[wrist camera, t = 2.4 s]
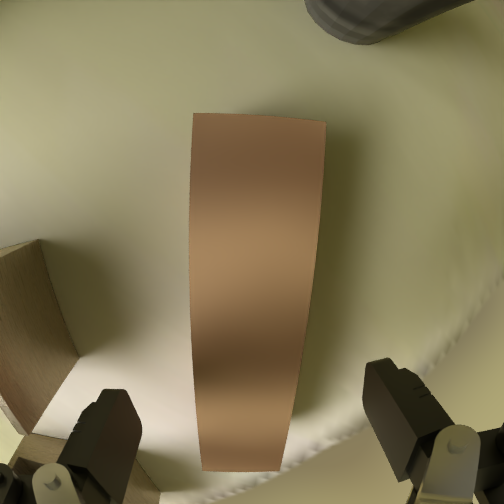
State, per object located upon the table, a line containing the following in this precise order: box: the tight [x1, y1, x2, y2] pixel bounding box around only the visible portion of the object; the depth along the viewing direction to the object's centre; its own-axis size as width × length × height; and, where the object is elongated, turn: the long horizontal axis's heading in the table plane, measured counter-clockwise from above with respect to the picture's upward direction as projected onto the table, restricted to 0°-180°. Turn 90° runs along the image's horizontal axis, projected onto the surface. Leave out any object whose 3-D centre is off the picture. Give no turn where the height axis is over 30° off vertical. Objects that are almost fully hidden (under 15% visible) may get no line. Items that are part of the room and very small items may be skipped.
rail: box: [189, 113, 326, 472], centre depth 12 cm, size 16×4×4 cm, turn 177°
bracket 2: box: [8, 433, 160, 504], centre depth 14 cm, size 7×10×6 cm
